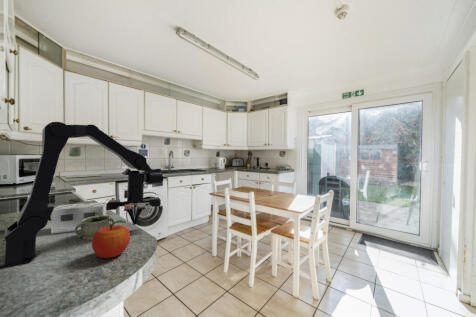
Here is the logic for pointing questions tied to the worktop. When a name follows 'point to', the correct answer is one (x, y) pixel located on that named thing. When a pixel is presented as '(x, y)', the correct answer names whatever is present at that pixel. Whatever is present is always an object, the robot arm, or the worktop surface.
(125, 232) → the fruit
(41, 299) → the worktop surface
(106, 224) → the vessel
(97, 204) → the housing
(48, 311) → the worktop surface
